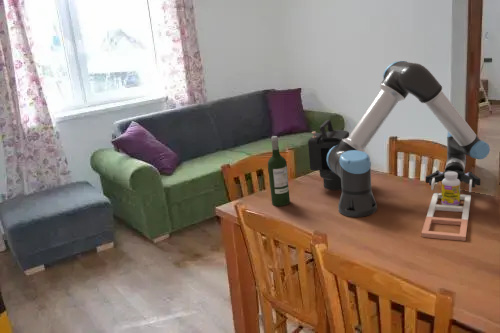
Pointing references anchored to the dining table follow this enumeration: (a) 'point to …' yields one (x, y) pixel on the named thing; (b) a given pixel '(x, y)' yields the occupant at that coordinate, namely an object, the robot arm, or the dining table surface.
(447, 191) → the supplement bottle
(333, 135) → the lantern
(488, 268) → the dining table surface
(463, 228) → the rack
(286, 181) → the wine bottle
